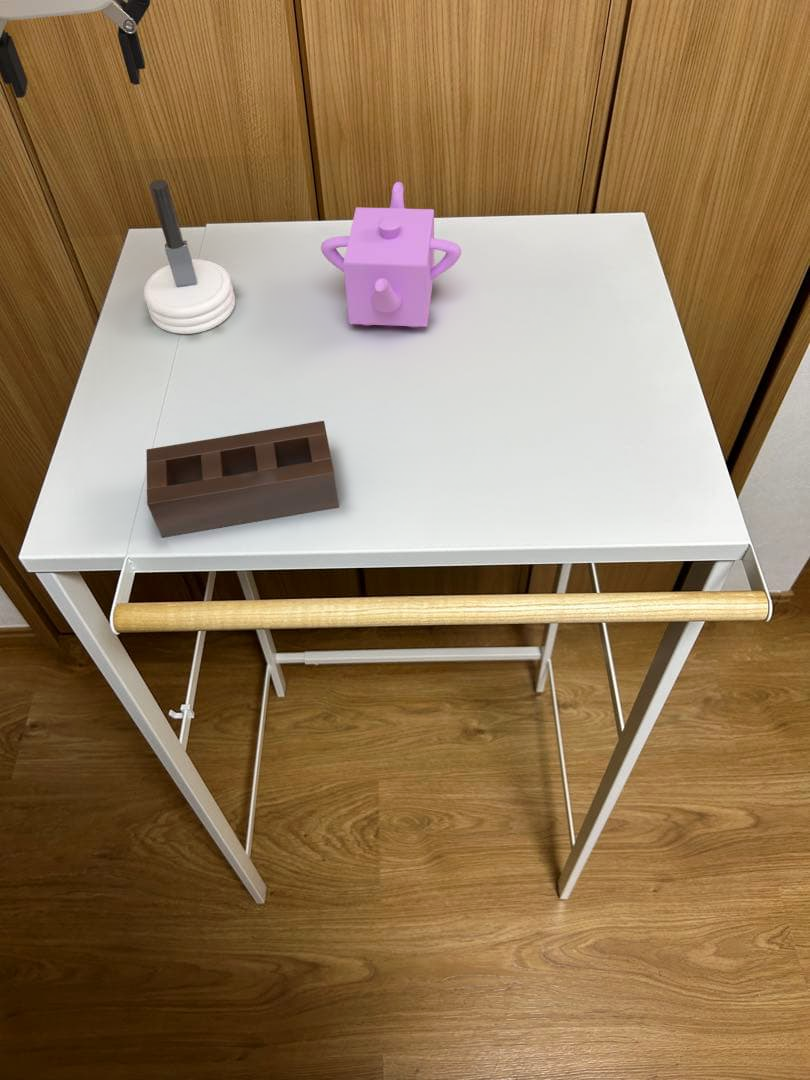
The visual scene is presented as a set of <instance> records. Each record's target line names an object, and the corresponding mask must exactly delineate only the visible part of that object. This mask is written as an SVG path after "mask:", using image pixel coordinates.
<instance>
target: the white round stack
mask: <svg viewBox="0 0 810 1080" xmlns="http://www.w3.org/2000/svg"><path fill="white" fill-rule="evenodd" d="M191 259H192V262H193V266H194V270H195V273H196V277H197V284H191V285H184V286H176V284H175V281H174V277H173V274H172V271H171V267H170V264H169V263H168V264H166V265H164V266H162V267H161V268H159V269H157V270H156V271H155V272H153V273H152V275H150V277H149V278H148V279H147V280H146V282H145V284H144V286H143V299H144V301H145V303H146V308H147V310H148V312H149V317H150V319H151V320H152V321H153V323H154V324H155V325H156V326H157V327H159V328H160V329H162V330H164V331H166V332H169V333H173V334H181V335H191V334H192V335H193V334H197V333H203V332H206V331H209V330H212V329H213V328H216V327H218V326H219V325H220V324H222V323H223V322H224V321H226V320H227V319H228V318H229V317H230V315H231V314H232V313H233V311H234V309H235V304H236V296H235V293H234V288H233V285H232V279H231V277H230V274H229V273H228V271H227V270H226V269H225V268H224V267H223V266H221V265H220V264H218V263H216V262H214V261H211V260H205V259H198V258H194V259H193V258H191Z"/></svg>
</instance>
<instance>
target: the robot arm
mask: <svg viewBox="0 0 810 1080" xmlns="http://www.w3.org/2000/svg"><path fill="white" fill-rule="evenodd" d="M150 6H151V0H0V76H1V79H2V81H3V83H4V84H5V85H11V88H12V91H13V93H14V95H15V97H16V98H17V99H21V98H22V99H23V98H25V97H24V96H26V94H27V89H28V84H29V83H28V77H27V76H26V75H27V74H26V72H25V70H24V67H23V64H22V61H21V59H20V56H19V53H18V51H17V47H16V45H15V42H14V40H13V37H12V35H10V34H9V32H8V31H7V32H6V30H5V27H6V25H7V22H8V21H17V20H18V21H21V20H30V19H41V18H51V17H61V16H70V15H79V14H87V13H93V12H99V11H100V12H101V13H102V14H104V15H105V16H106V17H107V18H109V19H110V20H111V21H112V22H113V23H114V24H115V25H116V26H117V28H118V29H117V39H118V43H119V46H120V49H121V53H122V57H123V61H124V64H125V69H126V72H127V75H128V80H129V83H130V84H133V86H136V85H140V84H141V82H140V78H141V77H140V70H145V69H146V62H145V57H144V52H143V50H142V46H141V42H140V37H139V34H138V30H137V29H138V25H139V23H140V22H141V21H142V19H143V17H144V16H145V14H146V12H147V10H148V9H149V7H150Z"/></svg>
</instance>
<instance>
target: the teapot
mask: <svg viewBox="0 0 810 1080" xmlns="http://www.w3.org/2000/svg"><path fill="white" fill-rule="evenodd" d="M338 248H346V251H345V255H344V257H343V256H342V255H341V254H340V252H339V251H338ZM435 250H437V251H441V252H444V253H445V255H444V256H443V258H442V259H440V260H439V262H438V263H437V264H435ZM320 251H321V253H322V255H323V256H324V257H325V259H326V260H327V261H328V262H329V263H330V264H332V265H333V266H334V267H336V268H337V269H338V270H340V271H341V272H343V275H344V286H345V293H346V294H345V296H346V303H347V313H348V315H347V316H348V323H349V325H361V326H365V327H371V326H373V325H374V326H399V327H408V328H412V329H415V328H421V327H422V328H423V327H424V328H425V327H426V328H428V325H429V317H430V309H431V302H432V301H431V299H432V292H433V283H434V279H435V278H437V277H438V276H440V275H442V274H443V273H444V272H447V270H449V269H450V268H452V267H453V266H454V265H455V264H456V263H457V262H458V260H460V257H461V255H462V248H461V246H460V245H459V244H458V243H456V242H454V241H452V240H446V239H443V238H442V239H441V238H435V210H434V209H433V208H405V201H404V184H403V183H402V182H401V181H396V182H395V183H394V184H393V186H392V190H391V199H390V205H389V207H359V206H357V207H355V209H354V215H353V219H352V224H351V227H350V232H349V235H342V236H341V235H340V236H333V237H329V238H327V239H325V240H323V242H321V245H320Z"/></svg>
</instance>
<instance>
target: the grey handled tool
mask: <svg viewBox="0 0 810 1080" xmlns="http://www.w3.org/2000/svg"><path fill="white" fill-rule="evenodd" d="M149 189H150V193H151V197H152V199H153V203H154V206H155V210H156V213H157V216H158V218H159V223H160V226H161V229H162V234H163V236H164V239H165V243H164V250H165V254H166V257H167V261H168V264H170V267H171V271H172V274H173V277H174V281H175V284H176V286H184V285H191V284H197V277H196V273H195V270H194V266H193V262H192V259H193V258H192V255H191V252H190V248H189V244H188V241H187V240H184V238H183V235H182V231H181V228H180V224H179V220H178V217H177V214H176V210H175V209H176V208H175V205H174V202H173V198H172V195H171V192H170V188H169V185H168V182H167V181H166V180H165V179H155V180H152V181H151V182H150V183H149Z"/></svg>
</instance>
